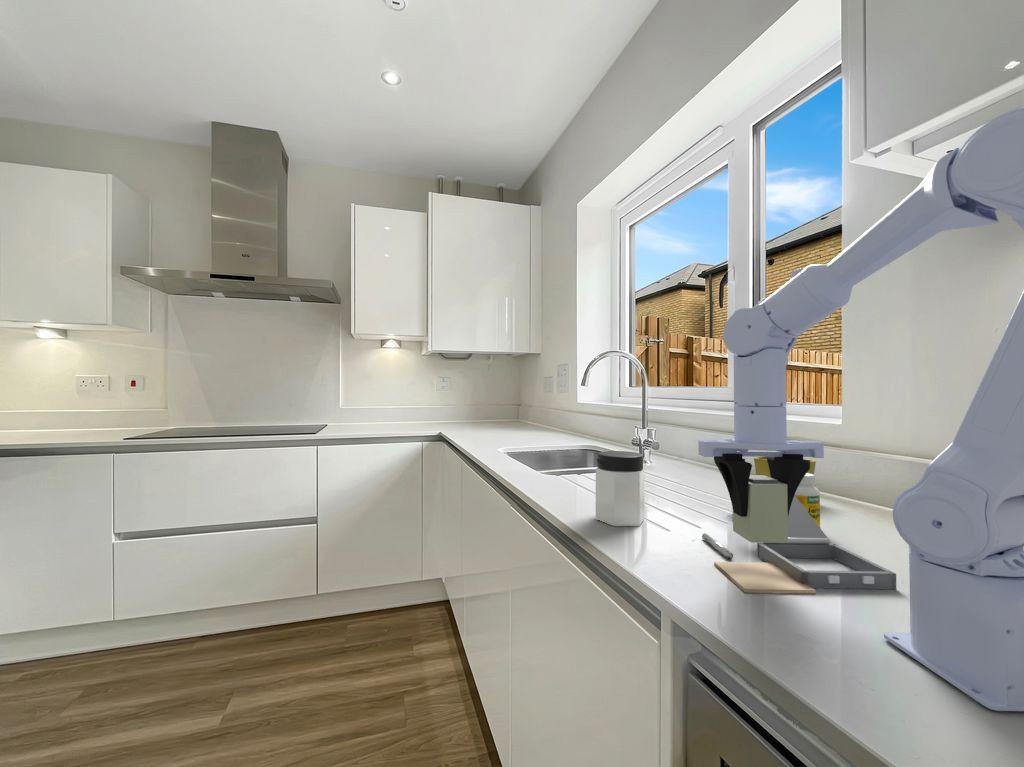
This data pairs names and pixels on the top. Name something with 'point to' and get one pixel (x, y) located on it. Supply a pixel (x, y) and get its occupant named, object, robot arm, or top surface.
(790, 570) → the case
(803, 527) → the lid
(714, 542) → the rod
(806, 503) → the supplement bottle
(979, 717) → the top surface
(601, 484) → the jar
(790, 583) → the mat
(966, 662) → the robot arm
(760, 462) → the flower pot
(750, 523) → the block
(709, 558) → the top surface
